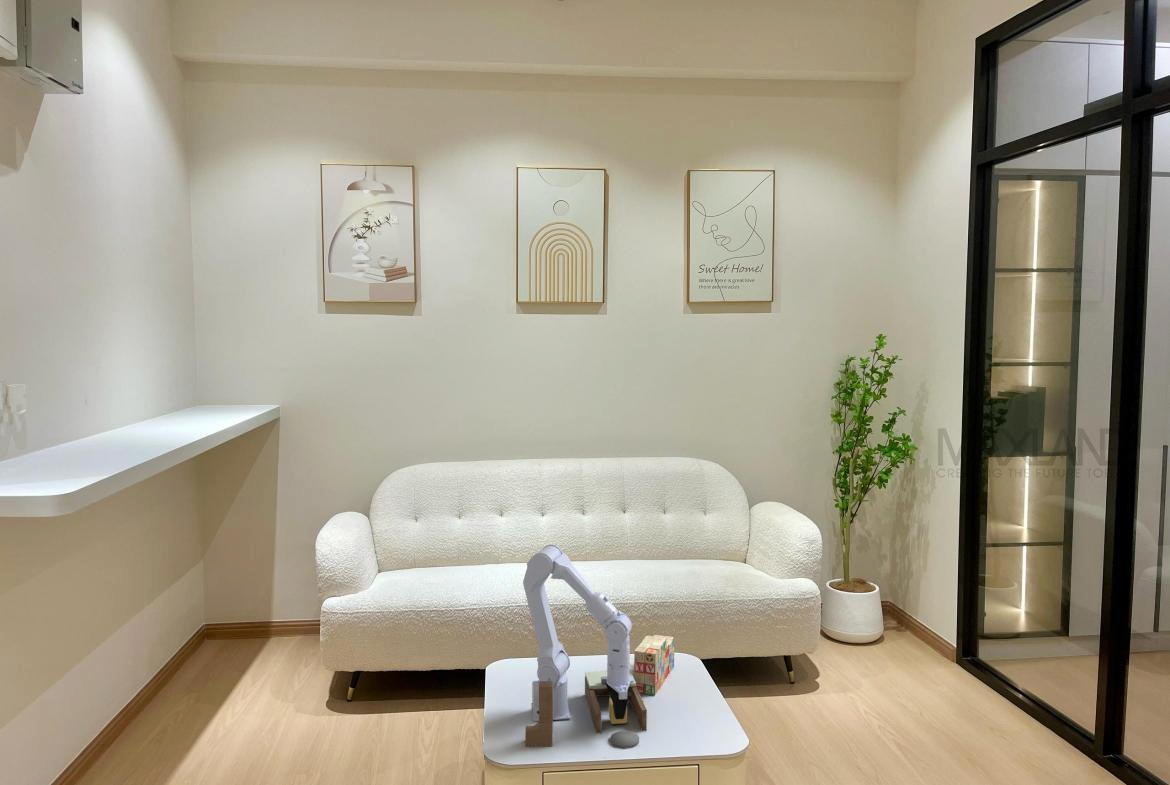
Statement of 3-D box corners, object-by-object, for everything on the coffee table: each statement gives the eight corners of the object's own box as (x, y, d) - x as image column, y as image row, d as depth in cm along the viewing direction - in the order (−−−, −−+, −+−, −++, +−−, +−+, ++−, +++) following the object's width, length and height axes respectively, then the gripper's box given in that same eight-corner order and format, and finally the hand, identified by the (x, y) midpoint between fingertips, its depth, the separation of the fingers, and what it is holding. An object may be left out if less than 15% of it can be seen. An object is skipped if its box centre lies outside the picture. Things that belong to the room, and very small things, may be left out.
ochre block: (611, 723, 204) (611, 704, 204) (609, 716, 208) (609, 697, 208) (626, 722, 205) (627, 703, 204) (624, 715, 209) (624, 697, 208)
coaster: (613, 748, 193) (613, 745, 193) (608, 734, 200) (608, 731, 200) (641, 747, 194) (641, 743, 194) (636, 733, 201) (636, 729, 201)
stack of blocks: (654, 664, 244) (654, 624, 243) (674, 667, 242) (674, 627, 241) (633, 692, 224) (633, 650, 223) (655, 696, 222) (655, 653, 221)
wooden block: (552, 739, 198) (552, 680, 197) (552, 746, 194) (552, 686, 193) (526, 740, 198) (525, 680, 196) (525, 746, 194) (525, 686, 193)
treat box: (596, 733, 201) (596, 713, 200) (584, 694, 223) (584, 676, 222) (646, 730, 202) (646, 710, 202) (630, 692, 224) (630, 673, 224)
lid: (589, 688, 214) (589, 679, 213) (585, 674, 223) (585, 666, 222) (636, 686, 215) (636, 677, 215) (629, 672, 224) (629, 663, 224)
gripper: (639, 673, 199) (638, 726, 200) (628, 651, 213) (628, 700, 214) (611, 675, 198) (610, 728, 199) (602, 652, 212) (601, 702, 213)
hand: (617, 714), depth 206 cm, fingers closed on ochre block, 4 cm apart
